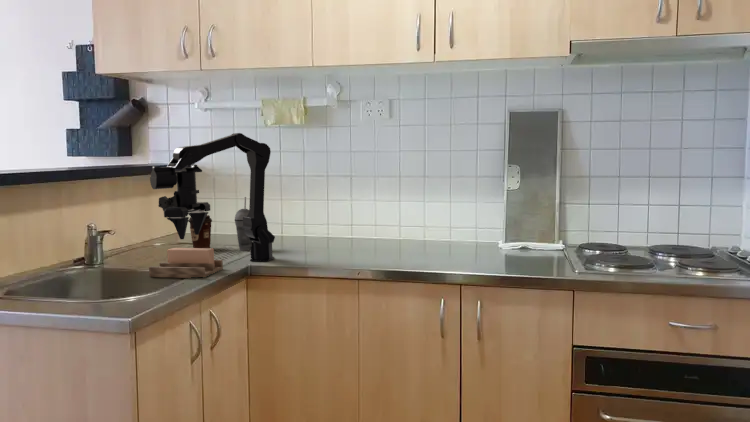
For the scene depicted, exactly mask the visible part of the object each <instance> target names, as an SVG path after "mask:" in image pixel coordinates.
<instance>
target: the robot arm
mask: <svg viewBox="0 0 750 422" xmlns="http://www.w3.org/2000/svg"><path fill="white" fill-rule="evenodd" d="M234 147H236V148H237V149H239V150H240V151H241V152H242V153H245V154H246V161H247V164H248V166H249V169H250V175H249V176H250V179H249V181H250V182H249V207H248V208H249V209H248V210H249V213H248V215H247V217H243V226H242V229H244V233H245V234H246V235H247V236H248V238H249V240H250V241H252V243H251V245H252V246H251V247H250V251H249V252H250V260H249V262H270V261H272V260H274V259H275V256H274V255H273V243H274V241H275V239H276V236H275V235H274V234H272V232H271V231H270V230H269V228H268V221H267V218H266V215H265V213H264V211H265V210H264V209H265V207H264V205H265V204H264V203H265V201H264V200H265V184H266V183H265V180H266V179H265V178H266V174H265V173H266V169H267V167H268V165H269V162H270V157H271V153H272V152H271V148H270V147H269V145H268V143H264V142H259V141H257V140H255V139H253V138H250V137H249V136H246V135H245V134H243V133H241V132H235V133H231V134H229V135H226V136H224V137H220V138H217V139H213V140H211V141H207V142H205V143H204V142H203V143H202V144H196V145H194V144H193V145H186V146H179V147H177V148H175V149H174V151H173V153H172V158H171V160H169V162H168V164H167V166H152V167H151V170H152V171H150V172H151V173H150V177H149V183H150V186H151V187H150V188H152V190H164V189H165V190H167V189H173V188H174V187H175V186H176V190H174V192H173V196H170V197H167V196H166V195H165V196H161V197H158V205H157V206H158V208H161V209H162V212H163V217H164V218H166V220H168V221H170V222H172V224H173V225H174V227H175V229H176V230H175V231H176V232H177V235H178V237H179V239H180V240H184V239H185V238H186V232H187V227H188V224H189V222H188V220H189V219H190V217H192V221H193V227H194V233H195V235H198V234H199V232H200V230H201V227H202V225H203V222H204V220H205V218H206V216H207V215H208V214H209V212H210V211H211V204H210V203H209V202H208V201H204V202H202V201H198V196H197V195H198V194H200V189H197V177H196V176H197V175H196V173H202V172H203V170H202V169H201V168H200V167H199V166H198V165H197V163H199V162H200V161H201V160H203V159H204V158H206V157H207V156H211V155H214V154H216V153H220V152H222V151H226V150H229V149H232V148H234ZM188 166H191V167H188ZM188 215H189V217H188Z"/></svg>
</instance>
